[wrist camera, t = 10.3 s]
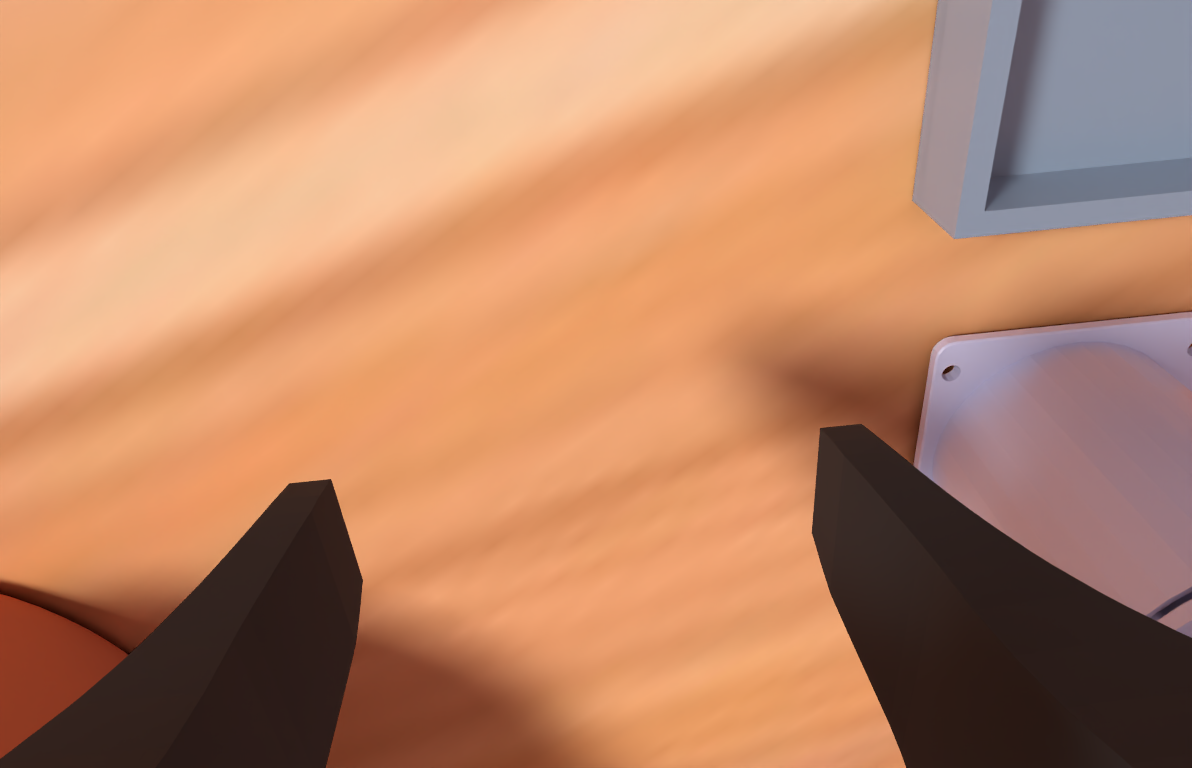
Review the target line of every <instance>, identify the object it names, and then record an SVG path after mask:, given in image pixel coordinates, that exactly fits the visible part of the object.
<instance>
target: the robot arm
mask: <svg viewBox="0 0 1192 768" xmlns="http://www.w3.org/2000/svg"><path fill="white" fill-rule="evenodd" d="M1191 344H1192V312H1183V313H1173V314H1164V315H1154V316H1144V317H1134V318H1125V319H1115V320H1105V321H1095V322H1086V323H1076V324H1066V325H1056V326H1047V327H1037V328H1027V329H1017V330H1008V331H998V332H988V333H978V334H969V335H959V336H950V337H947V338H944V339H942V340H941V341H939V342H938V343H937V344H936V345H935V346H934V347H933V350H932V352H931V357H930V364H929V370H928V376H927V383H926V389H925V395H924V402H923V408H922V414H921V420H920V427H919V433H918V439H917V446H916V452H915V458H914V465H912V464H911V463H909V462H908V461H907V460H906V459H904V458H903V457H902V456H901V455H899V454H898V453H897V452H896V451H895V450H893V449H892V448H891V447H890V446H888V445H887V444H886V443H885V442H884V441H882V440H881V439H880V438H879V437H877V436H876V435H875V434H874V433H872V432H871V431H870V430H869V429H867V428H866V427H865V426H863V425H862V424H856V425H846V426H837V427H827V428H820V438H819V451H818V463H817V476H816V488H815V500H814V513H813V525H812V534H813V538H814V541H815V545H816V548H817V551H818V555H819V558H820V562H821V565H822V568H823V572H824V575H825V578H826V581H827V584H828V587H829V590H830V593H831V596H832V598H833V600H834V602H835V605H836V607H837V609H838V612H839V614H840V616H841V618H842V621H843V623H844V625H845V627H846V629H847V632H848V634H849V636H850V638H851V641H852V643H853V645H854V647H855V649H856V652H857V654H858V656H859V658H860V660H861V663H862V665H863V667H864V669H865V671H866V674H867V676H868V678H869V680H870V682H871V685H872V687H873V689H874V691H875V693H876V696H877V698H878V700H879V702H880V704H881V707H882V709H883V711H884V713H885V715H886V718H887V720H888V722H889V724H890V727H891V729H892V732H893V734H894V736H895V739H896V741H897V744H898V746H899V749H900V751H901V754H902V757H903V759H904V762H905V765H906V768H1192V346H1191V347H1190V348H1189V346H1190V345H1191ZM952 365H955V366H954V368H953V369H952V370H951V371H950V372H949V373H946V374H942V373H943V371H944V370H945V369H946V368H947V367H949V366H952ZM362 583H363V579H362V576H361V573H360V570H359V566H358V563H357V560H356V557H355V554H354V551H353V547H352V544H351V541H350V538H349V535H348V531H347V528H346V525H345V522H344V519H343V516H342V512H341V509H340V506H339V503H338V500H337V496H336V493H335V490H334V487H333V484H332V481H331V479H328V480H319V481H309V482H299V483H290V484H289V485H288V486H287V487H286V488H285V489H284V490H283V491H282V492H281V493H280V494H279V496H278V497H277V498H276V499H275V500H274V501H273V502H272V503H271V505H270V506H269V507H268V508H267V509H266V510H265V512H264V513H263V514H262V515H261V516H260V517H259V518H258V520H257V521H256V522H255V523H254V524H253V525H252V526H251V528H250V529H249V530H248V531H247V532H246V533H245V534H244V536H243V537H242V538H241V539H240V540H239V541H238V542H237V544H236V545H235V546H234V547H233V548H232V549H231V550H230V551H229V553H228V554H227V555H226V556H225V557H224V558H223V559H222V560H221V561H220V563H219V564H218V565H217V566H216V567H215V568H214V569H213V570H212V571H211V573H210V574H209V575H208V576H207V577H206V578H205V579H204V580H203V581H202V582H201V584H200V585H199V586H198V587H197V588H196V589H195V590H194V591H193V592H192V593H191V594H190V595H189V596H188V597H187V598H186V599H185V600H184V601H183V602H182V603H181V604H180V605H179V606H178V607H177V608H176V609H175V610H174V611H173V612H172V613H171V614H170V615H169V616H168V617H167V618H166V619H165V620H164V621H163V622H162V623H161V624H160V625H159V626H158V627H157V628H156V629H155V630H154V631H153V632H152V633H151V634H150V635H149V636H148V637H147V638H146V639H145V640H144V641H143V642H142V643H141V644H140V645H139V646H138V647H137V648H136V649H134V650H133V651H132V652H131V653H130V654H129V655H128V656H127V657H126V658H125V659H123V660H122V661H121V662H120V663H119V664H118V665H117V666H116V667H115V668H113V669H112V670H111V671H110V672H109V673H108V674H106V675H105V676H104V677H103V678H102V679H101V680H99V681H98V682H97V683H96V684H95V685H94V686H93V687H91V688H90V689H89V690H88V691H87V692H86V693H84V694H83V695H82V696H81V697H80V698H78V699H77V700H76V701H75V702H73V703H72V704H71V705H70V706H69V707H67V708H66V709H65V710H63V711H62V712H61V713H59V714H58V715H57V716H55V717H54V718H53V719H52V720H50V721H49V722H48V723H46V724H45V725H44V726H42V727H41V728H40V729H39V730H37V731H36V732H35V733H33V734H32V735H31V736H29V737H28V738H27V739H25V740H24V741H23V742H22V743H20V744H19V745H18V746H16V747H15V748H14V749H12V750H11V751H10V752H9V753H7V754H6V755H5V756H3V757H2V758H1V759H0V768H326V764H327V760H328V756H329V752H330V748H331V744H332V739H333V735H334V731H335V727H336V723H337V719H338V715H339V711H340V707H341V703H342V699H343V695H344V691H345V687H346V683H347V679H348V675H349V671H350V666H351V662H352V658H353V654H354V649H355V645H356V638H357V630H358V622H359V614H360V604H361V593H362Z"/></svg>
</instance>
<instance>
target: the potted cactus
mask: <svg viewBox="0 0 1192 768" xmlns="http://www.w3.org/2000/svg"><path fill="white" fill-rule="evenodd" d="M127 656H128V654H127V653H125V652H124V651H122V650H121V649H119V648H118V647H116V646H115V645H113V644H112V643H110V642H109V641H107V640H105V639H103V638H102V637H100V636H98V635H97V634H95V633H93V632H92V631H90V630H88V629H86V628H84V627H82V626H80V625H78V624H76V623H74V622H72V621H70V620H68V619H66V618H64V617H62V616H60V615H57V614H55V613H52V612H50V611H48V610H45V609H43V608H41V607H38V606H36V605H33V604H30V603H27V602H24V601H21V600H18V599H15V598H13V597H10V596H6V595H2V594H0V759H1V758H2V757H3V756H5V755H6V754H7V753H9V752H10V751H11V750H12V749H14V748H15V747H16V746H18V745H19V744H20V743H22V742H23V741H24V740H25V739H27V738H28V737H29V736H31V735H32V734H33V733H35V732H36V731H37V730H39V729H40V728H41V727H42V726H44V725H45V724H46V723H48V722H49V721H50V720H52V719H53V718H54V717H55V716H57V715H58V714H59V713H61V712H62V711H63V710H65V709H66V708H67V707H69V706H70V705H71V704H72V703H73V702H75V701H76V700H77V699H78V698H80V697H81V696H82V695H83V694H84V693H86V692H87V691H88V690H89V689H90V688H91V687H93V686H94V685H95V684H96V683H97V682H98V681H99V680H101V679H102V678H103V677H104V676H105V675H106V674H108V673H109V672H110V671H111V670H112V669H113V668H115V667H116V666H117V665H118V664H119V663H120V662H121V661H122V660H123V659H125V658H126V657H127Z"/></svg>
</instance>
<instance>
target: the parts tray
mask: <svg viewBox="0 0 1192 768" xmlns="http://www.w3.org/2000/svg"><path fill="white" fill-rule="evenodd" d="M912 201H913V202H914V203H916V204H917V205H918V206H919V207H920V208H921V209H922V210H923V211H924V212H925V213H926V214H927V215H929V216H930V217H931V218H932V219H933V220H934V221H935V222H936V223H937V224H938V225H939V226H941V227H942V228H943V229H944V230H945V231H946V232H947V233H948V234H949V235H950V236H951V237H952V238H954V239H959V238H969V237H979V236H989V235H999V234H1009V233H1019V232H1028V231H1038V230H1048V229H1058V228H1068V227H1078V226H1088V225H1098V224H1108V223H1118V222H1128V221H1138V220H1148V219H1158V218H1168V217H1178V216H1188V215H1192V0H938V6H937V13H936V21H935V29H934V36H933V44H932V52H931V60H930V67H929V75H928V83H927V91H926V98H925V106H924V114H923V121H922V129H921V137H920V145H919V152H918V160H917V168H916V175H915V183H914V191H913V199H912Z"/></svg>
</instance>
